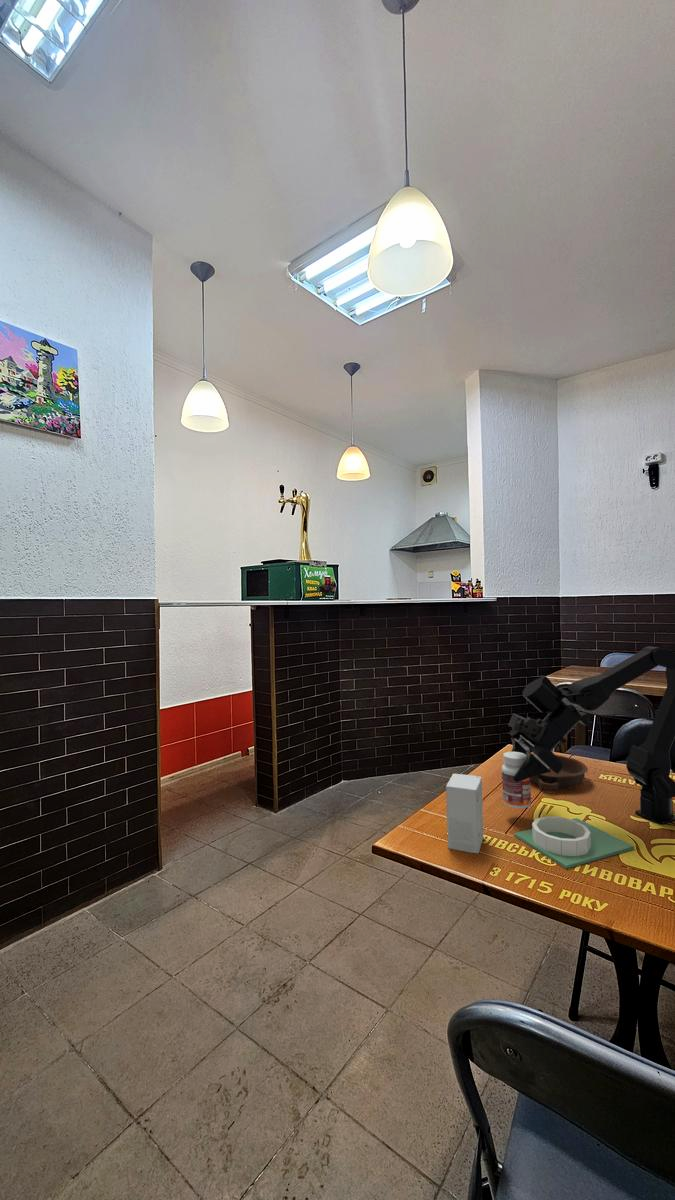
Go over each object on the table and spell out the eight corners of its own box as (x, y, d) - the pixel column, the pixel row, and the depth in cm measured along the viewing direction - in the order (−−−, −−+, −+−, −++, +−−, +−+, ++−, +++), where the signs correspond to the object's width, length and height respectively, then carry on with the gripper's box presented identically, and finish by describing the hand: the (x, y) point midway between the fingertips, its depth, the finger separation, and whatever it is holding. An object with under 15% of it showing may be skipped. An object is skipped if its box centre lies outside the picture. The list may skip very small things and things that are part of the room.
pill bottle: (529, 811, 108) (527, 760, 108) (500, 806, 111) (498, 757, 111) (532, 801, 113) (531, 752, 113) (505, 796, 116) (503, 749, 116)
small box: (454, 831, 107) (452, 772, 107) (484, 836, 104) (482, 776, 104) (446, 848, 100) (445, 785, 100) (478, 854, 97) (476, 789, 97)
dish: (511, 788, 131) (510, 770, 131) (528, 764, 149) (528, 748, 149) (582, 801, 121) (582, 781, 121) (592, 774, 140) (591, 757, 140)
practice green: (577, 820, 111) (576, 804, 111) (633, 849, 98) (633, 831, 98) (514, 836, 104) (513, 819, 104) (566, 868, 91) (565, 849, 91)
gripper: (515, 694, 121) (473, 740, 121) (546, 711, 103) (496, 765, 103) (548, 725, 121) (506, 770, 121) (585, 747, 102) (535, 801, 103)
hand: (509, 775), depth 112 cm, fingers closed on pill bottle, 6 cm apart
